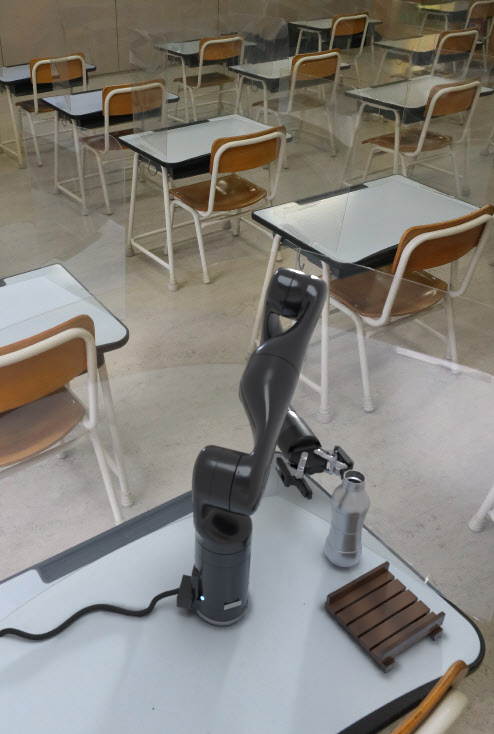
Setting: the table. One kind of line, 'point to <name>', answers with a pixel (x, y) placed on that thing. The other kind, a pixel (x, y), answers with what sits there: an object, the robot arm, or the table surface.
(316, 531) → the table surface
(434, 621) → the wooden slatted rack
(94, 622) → the table surface
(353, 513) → the silver metal bottle
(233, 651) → the table surface
